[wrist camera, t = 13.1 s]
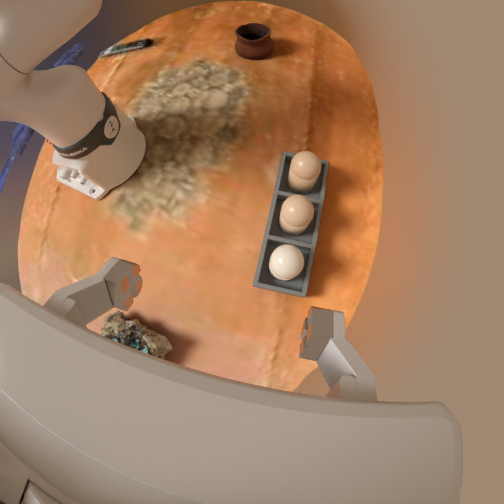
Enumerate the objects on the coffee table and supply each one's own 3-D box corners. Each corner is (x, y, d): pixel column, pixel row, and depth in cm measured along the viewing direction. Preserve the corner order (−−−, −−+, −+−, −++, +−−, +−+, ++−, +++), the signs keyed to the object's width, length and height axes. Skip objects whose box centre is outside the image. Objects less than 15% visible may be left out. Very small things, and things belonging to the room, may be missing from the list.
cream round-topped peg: (265, 278, 41) (267, 273, 33) (272, 249, 41) (274, 237, 33) (294, 284, 40) (302, 280, 32) (300, 255, 41) (309, 245, 33)
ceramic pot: (243, 85, 48) (241, 62, 41) (202, 50, 51) (197, 29, 44) (309, 58, 49) (312, 36, 42) (263, 27, 52) (262, 7, 45)
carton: (253, 286, 41) (250, 283, 32) (281, 160, 45) (285, 131, 36) (302, 297, 41) (312, 297, 32) (325, 170, 44) (337, 143, 35)
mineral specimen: (102, 355, 39) (91, 373, 32) (104, 305, 40) (92, 315, 32) (169, 366, 43) (170, 386, 35) (174, 317, 44) (175, 329, 36)
